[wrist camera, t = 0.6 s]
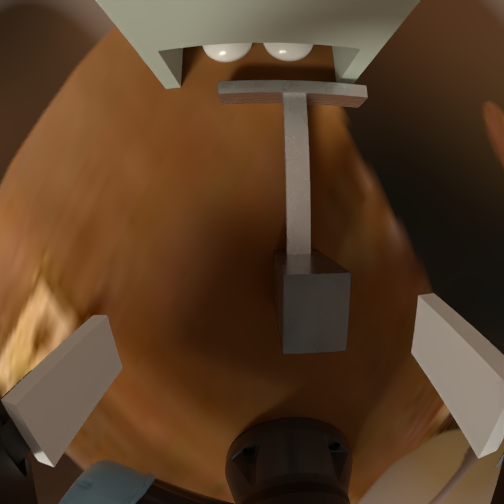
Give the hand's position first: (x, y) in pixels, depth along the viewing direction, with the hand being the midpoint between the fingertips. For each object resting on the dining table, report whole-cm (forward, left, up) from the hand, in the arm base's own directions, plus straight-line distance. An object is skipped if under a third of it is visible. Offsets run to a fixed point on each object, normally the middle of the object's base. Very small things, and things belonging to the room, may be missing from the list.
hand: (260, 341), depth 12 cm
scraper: (+6, -3, -17) cm, 19 cm away
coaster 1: (+22, +3, -18) cm, 29 cm away
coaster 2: (+22, -3, -17) cm, 29 cm away
